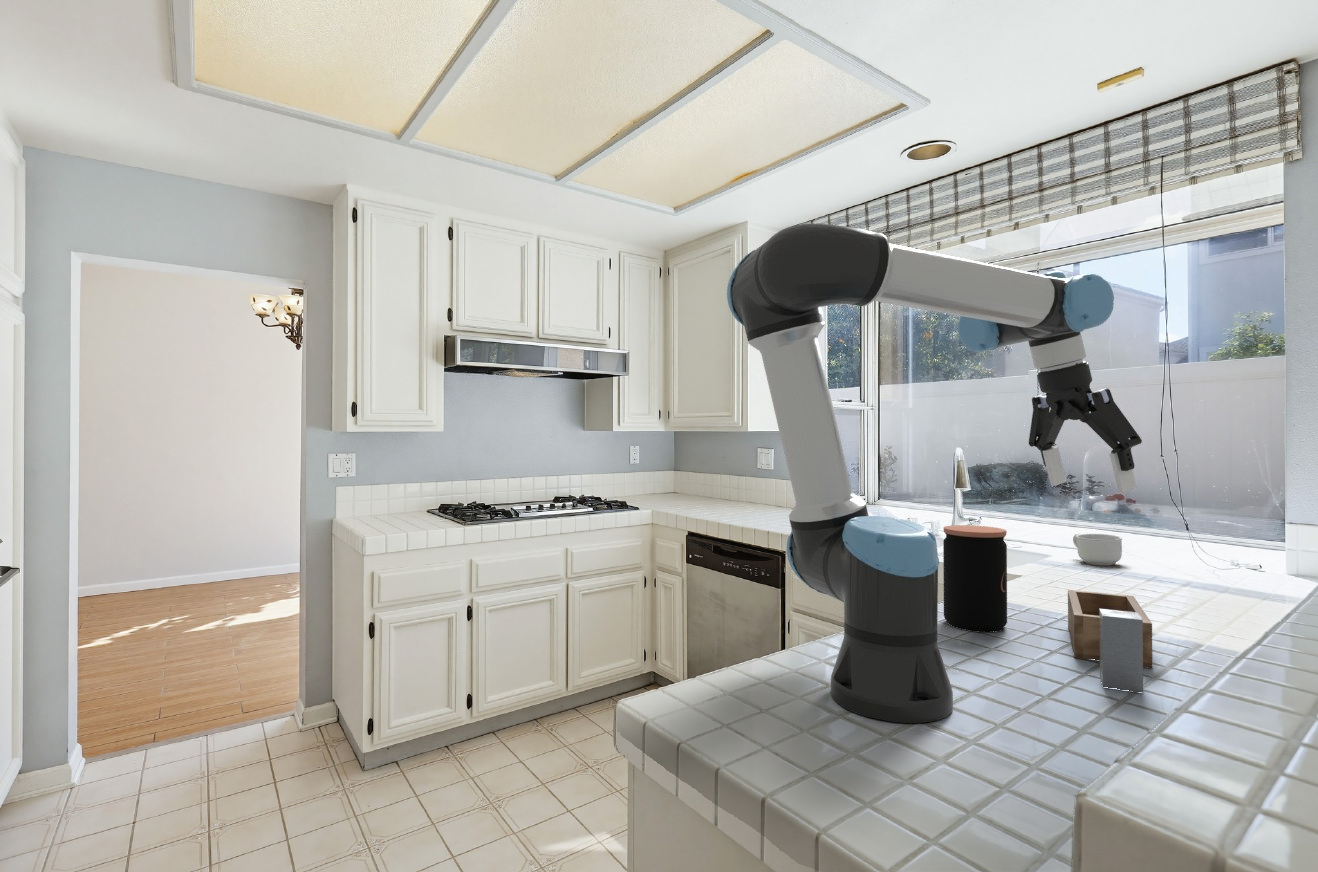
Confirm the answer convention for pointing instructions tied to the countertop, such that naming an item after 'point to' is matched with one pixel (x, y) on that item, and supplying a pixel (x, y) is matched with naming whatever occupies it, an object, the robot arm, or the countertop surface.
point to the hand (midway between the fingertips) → (1091, 486)
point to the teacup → (1098, 548)
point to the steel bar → (1121, 650)
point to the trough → (1088, 623)
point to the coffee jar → (975, 577)
